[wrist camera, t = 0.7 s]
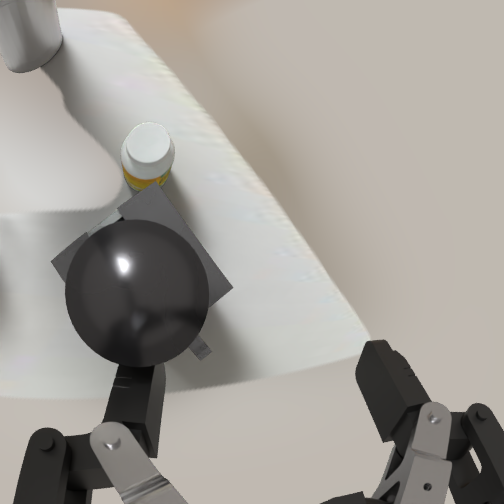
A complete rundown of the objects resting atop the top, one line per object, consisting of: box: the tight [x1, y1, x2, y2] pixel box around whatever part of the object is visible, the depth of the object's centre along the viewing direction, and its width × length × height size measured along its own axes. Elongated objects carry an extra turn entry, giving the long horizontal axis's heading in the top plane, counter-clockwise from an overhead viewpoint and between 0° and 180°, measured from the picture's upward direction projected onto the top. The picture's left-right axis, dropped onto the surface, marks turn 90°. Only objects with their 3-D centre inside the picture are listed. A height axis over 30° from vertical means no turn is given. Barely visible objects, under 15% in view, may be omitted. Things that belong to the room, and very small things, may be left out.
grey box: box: [51, 181, 233, 361], centre depth 28 cm, size 13×10×14 cm
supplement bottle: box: [121, 122, 175, 192], centre depth 30 cm, size 5×5×10 cm
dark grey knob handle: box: [65, 219, 209, 367], centre depth 16 cm, size 7×7×18 cm
